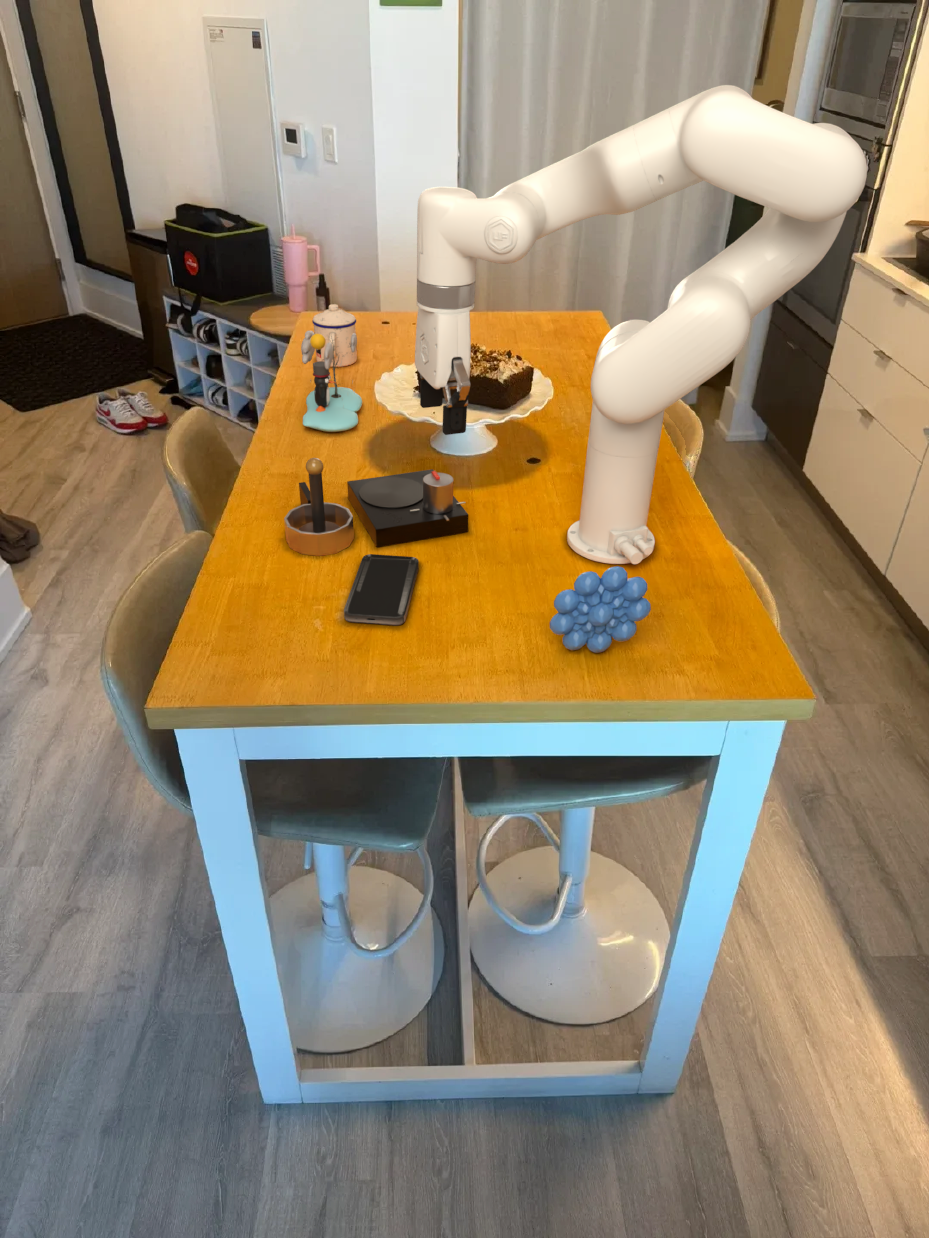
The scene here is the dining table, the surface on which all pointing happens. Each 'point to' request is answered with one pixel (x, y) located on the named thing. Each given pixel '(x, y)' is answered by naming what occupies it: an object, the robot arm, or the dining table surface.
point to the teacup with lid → (336, 334)
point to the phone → (382, 590)
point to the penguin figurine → (328, 390)
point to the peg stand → (317, 499)
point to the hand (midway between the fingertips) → (442, 419)
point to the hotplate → (406, 516)
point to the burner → (391, 492)
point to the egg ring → (325, 540)
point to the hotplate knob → (437, 493)
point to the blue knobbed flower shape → (600, 609)
